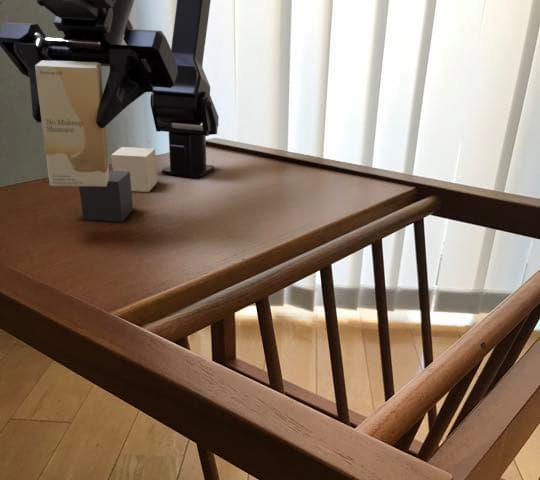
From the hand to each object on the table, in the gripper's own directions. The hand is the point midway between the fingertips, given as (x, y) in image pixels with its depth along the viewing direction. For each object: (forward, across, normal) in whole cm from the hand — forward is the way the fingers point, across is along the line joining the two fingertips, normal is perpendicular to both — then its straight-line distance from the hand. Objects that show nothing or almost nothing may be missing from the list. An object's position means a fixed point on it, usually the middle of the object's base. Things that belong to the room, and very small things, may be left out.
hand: (67, 122), depth 66 cm
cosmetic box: (+4, 0, +6) cm, 7 cm away
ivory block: (-6, -4, +25) cm, 26 cm away
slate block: (+3, -2, +16) cm, 16 cm away
